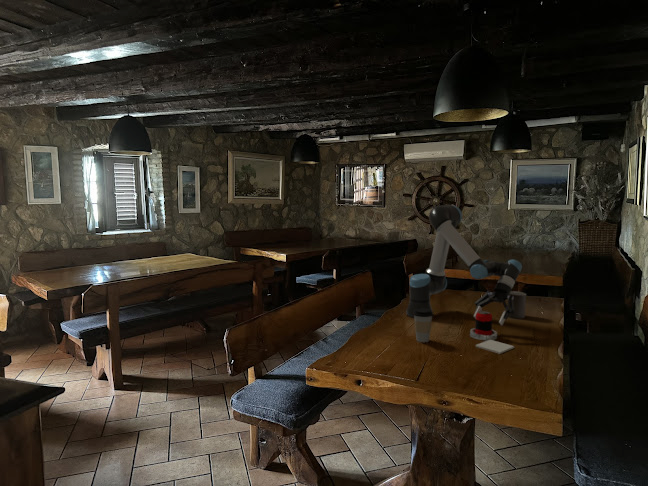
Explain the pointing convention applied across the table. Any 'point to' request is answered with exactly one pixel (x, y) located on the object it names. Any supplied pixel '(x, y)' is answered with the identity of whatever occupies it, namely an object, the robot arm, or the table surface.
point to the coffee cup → (422, 324)
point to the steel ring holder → (483, 337)
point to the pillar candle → (517, 304)
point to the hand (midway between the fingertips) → (487, 320)
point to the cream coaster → (494, 346)
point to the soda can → (483, 323)
